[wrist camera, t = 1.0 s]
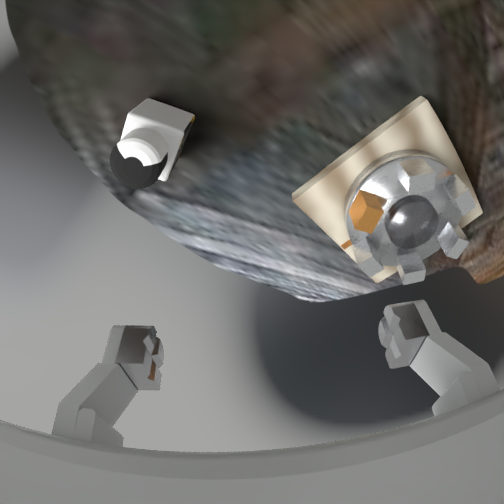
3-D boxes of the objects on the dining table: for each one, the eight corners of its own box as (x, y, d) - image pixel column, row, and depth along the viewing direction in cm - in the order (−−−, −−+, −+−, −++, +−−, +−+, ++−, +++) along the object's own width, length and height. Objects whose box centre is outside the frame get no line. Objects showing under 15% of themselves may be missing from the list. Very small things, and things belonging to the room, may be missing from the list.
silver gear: (423, 124, 35) (447, 145, 30) (469, 212, 43) (488, 239, 38) (317, 202, 44) (324, 233, 39) (382, 270, 53) (392, 301, 47)
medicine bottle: (178, 158, 43) (154, 205, 34) (133, 141, 41) (97, 183, 32) (196, 114, 38) (173, 149, 29) (147, 96, 36) (109, 127, 27)
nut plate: (420, 95, 34) (427, 99, 33) (477, 206, 45) (483, 213, 43) (291, 193, 46) (292, 202, 44) (374, 275, 57) (377, 284, 55)
